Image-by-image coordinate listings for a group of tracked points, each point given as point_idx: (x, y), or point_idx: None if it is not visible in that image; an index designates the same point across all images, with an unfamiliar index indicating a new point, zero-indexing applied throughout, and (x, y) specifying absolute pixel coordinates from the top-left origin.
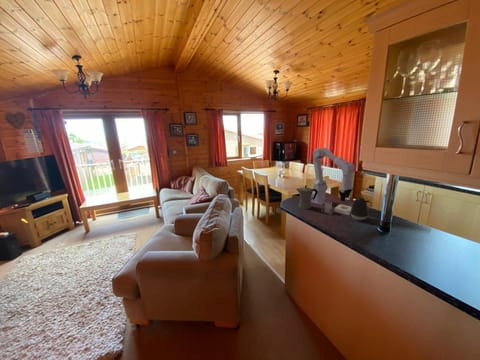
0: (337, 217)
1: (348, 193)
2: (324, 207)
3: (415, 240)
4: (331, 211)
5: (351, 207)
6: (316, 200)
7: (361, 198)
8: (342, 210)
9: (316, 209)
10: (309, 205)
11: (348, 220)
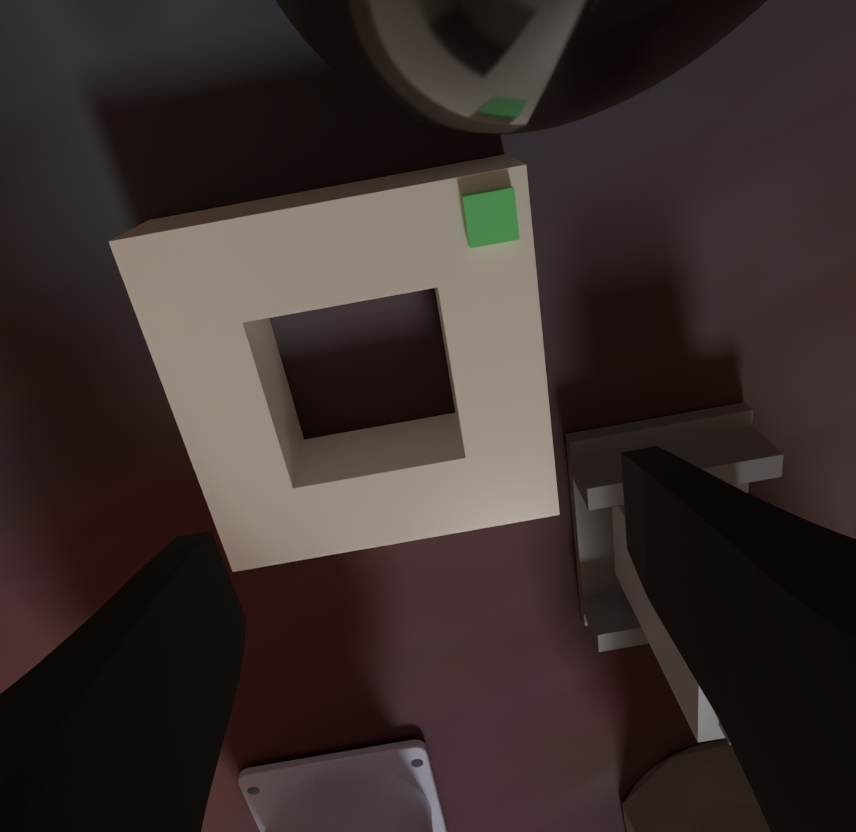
0: (757, 278)
1: (131, 718)
2: (639, 643)
3: None
4: (748, 463)
5: (660, 81)
6: None
7: None
8: (540, 343)
9: (659, 683)
10: (747, 806)
11: (760, 18)
